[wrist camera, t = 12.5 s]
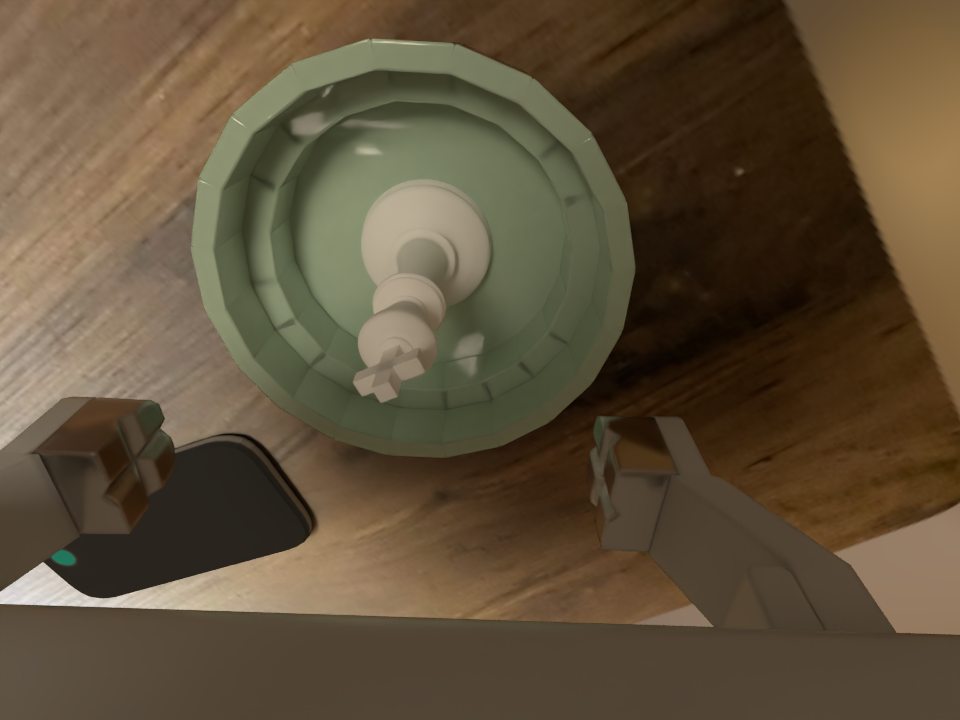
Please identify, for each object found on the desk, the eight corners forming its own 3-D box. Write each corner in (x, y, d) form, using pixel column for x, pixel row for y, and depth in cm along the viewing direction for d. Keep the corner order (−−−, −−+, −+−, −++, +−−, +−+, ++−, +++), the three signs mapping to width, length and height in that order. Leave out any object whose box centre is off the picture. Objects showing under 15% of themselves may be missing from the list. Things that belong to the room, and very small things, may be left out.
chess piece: (337, 212, 20) (223, 342, 11) (457, 155, 19) (434, 249, 10) (401, 322, 22) (347, 500, 14) (511, 276, 21) (529, 437, 13)
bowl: (381, -65, 16) (343, -103, 12) (676, 215, 20) (727, 261, 16) (195, 264, 22) (123, 318, 17) (459, 432, 26) (454, 510, 22)
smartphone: (-13, 516, 28) (238, 435, 25) (0, 503, 28) (245, 423, 25) (91, 605, 31) (320, 543, 28) (100, 592, 32) (324, 530, 29)
